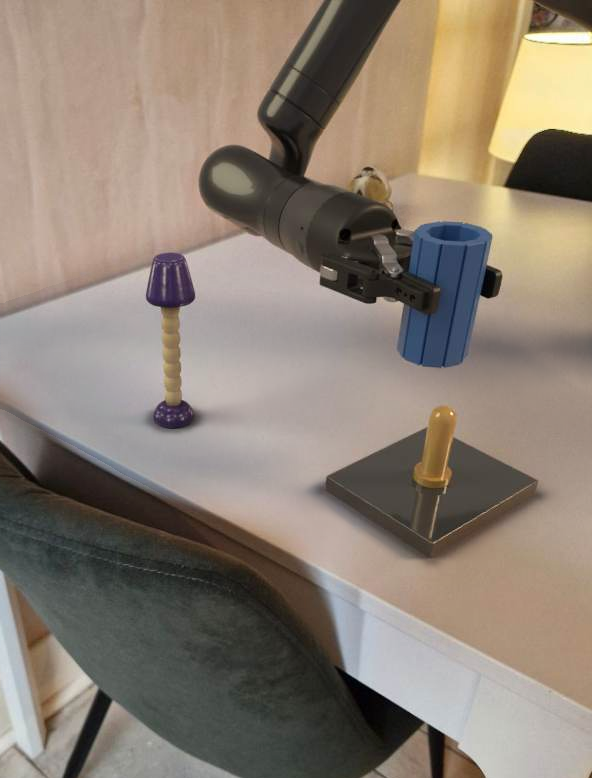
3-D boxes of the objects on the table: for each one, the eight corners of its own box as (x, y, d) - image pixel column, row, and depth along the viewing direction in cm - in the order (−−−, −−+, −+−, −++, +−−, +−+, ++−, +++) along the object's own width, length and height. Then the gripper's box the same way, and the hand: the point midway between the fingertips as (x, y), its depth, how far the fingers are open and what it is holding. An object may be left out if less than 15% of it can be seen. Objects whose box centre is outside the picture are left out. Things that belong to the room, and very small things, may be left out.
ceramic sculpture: (406, 156, 131) (392, 183, 120) (401, 207, 136) (386, 238, 126) (345, 153, 134) (326, 180, 123) (342, 203, 139) (323, 233, 129)
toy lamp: (157, 404, 81) (147, 247, 71) (200, 406, 81) (196, 248, 71) (150, 428, 78) (138, 265, 67) (196, 429, 77) (190, 266, 67)
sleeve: (398, 335, 67) (415, 219, 61) (466, 341, 66) (490, 223, 60) (395, 364, 63) (413, 242, 57) (468, 370, 62) (494, 247, 56)
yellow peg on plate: (428, 438, 75) (442, 358, 70) (534, 494, 67) (560, 408, 62) (324, 489, 68) (332, 405, 63) (429, 558, 61) (448, 468, 56)
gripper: (273, 203, 66) (402, 263, 54) (403, 180, 71) (545, 229, 59) (270, 288, 70) (388, 359, 59) (392, 259, 76) (522, 320, 64)
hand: (466, 293), depth 59 cm, fingers closed on sleeve, 5 cm apart
